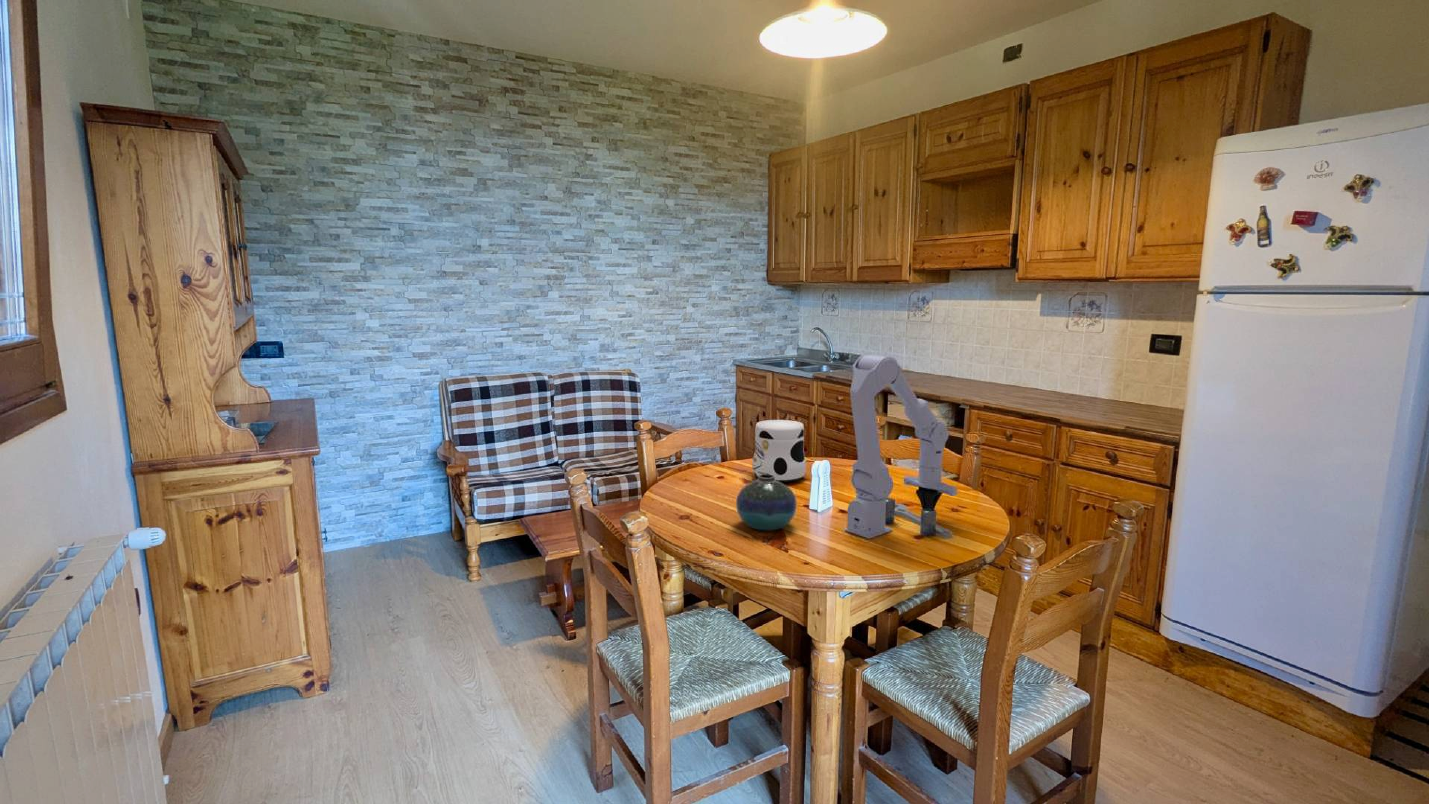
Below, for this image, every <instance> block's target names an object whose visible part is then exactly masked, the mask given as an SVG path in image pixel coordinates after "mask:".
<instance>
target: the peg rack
mask: <svg viewBox="0 0 1429 804" xmlns="http://www.w3.org/2000/svg"><path fill="white" fill-rule="evenodd" d="M895 503H896V499H895V498H892V497H888V499H886V514H885V525H893V524H895ZM920 517H921V524H920V527H919V535H920V536H922V537H926V538H931V537H933V538H934V537H935V536H936V534H935V531H936V525H937V510H935V509H934V510H933V509H922V508H921V509H920Z"/></svg>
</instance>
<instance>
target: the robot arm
mask: <svg viewBox="0 0 1429 804" xmlns="http://www.w3.org/2000/svg"><path fill="white" fill-rule="evenodd" d="M851 366H852V374H853V375H852V377H853V378H852V380H851V384H850V385H851V386H850V389H849V395H850V404H851V411H852V419H853V420H852V421H853V427H854V433H855V434H854V437H855V446H856V451H857V452H856V453H857V460H856V461H855V462H854V463H853V464H852V465H851V466H852V474H851V477H850V481H851V485H852V487H853V488H854V489H855V491H854V493H855V494H856V496H855V498H854V499H853V500H852V501H850V503H848V506H847V519H846V520H847V521H846V527H844V531H846V532H849V533H852V534H855V535H857V536H861V537H863V538H866V539H873V538H875V537H878V536H880V535H883V534H886V533H888V532H891V531H893V527H892V528H891V527H890V526H886V524H885V514H886V499H888V498H889V496H890V495H891V493H892V491H893V489H894V480H893V478H892V476H891V474H890V472H889V471H890V470H889V468H888V466H887V464H886V463H885V462H884V460H883V458H882V456H881V455H882V454H881V448H880V447H881V445H880V438H879V429H878V420H877V411H876V403H875V397H876V396H877V395H878V393H880V392H881V391H883V390H884V389H885V388H887V387H889V388H890V390H891V391H892V392H893V393H894V394H895V395H896V397H897V398H898V399H899V400H900V402H901V403H902V404H903V405H904V409H903V413H904V414H905V416H906V418H907V419H908V420H909V421H910V422H911V424H912V426H913V427H914V433H915V434H914V435H915V437H916V438H918V439H919V459H918V460H919V461H918V477H916V476H909V475H907V476H905V477H903V485H904V486H914V487H918V489H916V490H915V495H916V496H917V497H918V498H917V499H918V500H919V502H920V506H921V510H922V509H933V510H935V508H936V506H937V503H938V502H939V499H941V496H942V495H943V494H946V495H949V497H954V496H957V494H958V487H956V486H952V485H950V484H947V483H945V482H943V481H942V472H943V454H944V452H943V451H944V450H945V448H946V447H945V446H946V442H947V440H948V439H949V435H950V432H949V430H948V428H947V425H946V424H945V423H943V422H940V421H939V419H938V416H937V414H935V413H934V412H933V411H932V409H931V408H930V407H929V406H930V405H929V402H928V401H927V400H926V399H925V400H924V399H922V398H917V396H916V395H915V393H914V391H913V389H912V388H911V385H909V382H908V381H907V379H906V378H905V376H904V375H903V372H902V371H903V367H901V366H900V364H899V362H898V361H897V359H895V358H894V357H892V356H881V355H874V354H870V353H869V354H868V353H865V354H862V355H860V356H859V357H858V358H857V360H855V362H854V364H852V365H851Z"/></svg>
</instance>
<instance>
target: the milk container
mask: <svg viewBox="0 0 1429 804" xmlns="http://www.w3.org/2000/svg"><path fill="white" fill-rule="evenodd" d="M754 432H755V434H754V435H755V436H754V439H755V440H754V442H755V444H754V445H755V446H754V447H755V450H754V454H753V457H752V462H751V463H752V472H753V474H754V475H755V477H756V478H757V479H758V478H759V475H762V474H770V475H773V476H774V477H775V480H777V481H779V482H781V483H790V482H794V481H795V482H796V481H798V480H800V479H802V478H803V477H804V476H805V474H806V471H807V460H806V455H805V450H804V449H805V448H804V447H805V446H804V445H805V436H804V434H805V427H804V423H802V422H801V421H795V420H789V419H768V420H761V421H758V422H756V424H755V431H754Z"/></svg>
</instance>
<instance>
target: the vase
mask: <svg viewBox="0 0 1429 804" xmlns="http://www.w3.org/2000/svg"><path fill="white" fill-rule="evenodd" d="M735 503H736V504H735V505H736V506H735V508H736V511H737V515H738V517H739V518H740V520H741V521H742V522H743V523H744V524H745V525H747V526H748V527H750V528H752V529H754V530H759V531H765V532H766V531H776V530H777V531H778V530H780V529H782V528H785V527H786V526H787V525H788V524H790V523H791V521H792V520H793V518H794V517H795V514H796V511H797V505H798V503H797V499H796V495H795V493H794V492H793V490H792V489H791V488H790V487H789V486H787V485H786V484H784V482H779V481H777V480H775V477H774V476H773V475H770V474H762V475H759V478H758V477H757V479H756V480H753V481H751V482H749V483H748V484H747V485H744V486H743V487H742V488H741V489H740V491H739V492H738V494H737V496H736V502H735Z"/></svg>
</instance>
